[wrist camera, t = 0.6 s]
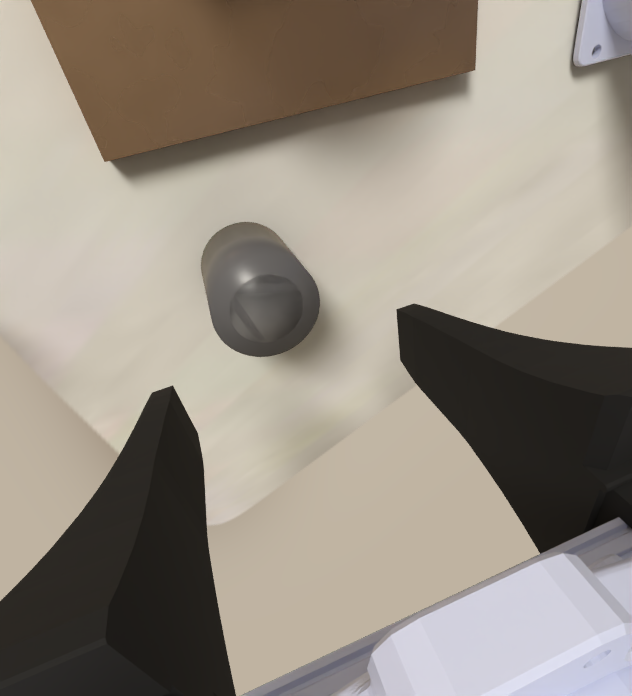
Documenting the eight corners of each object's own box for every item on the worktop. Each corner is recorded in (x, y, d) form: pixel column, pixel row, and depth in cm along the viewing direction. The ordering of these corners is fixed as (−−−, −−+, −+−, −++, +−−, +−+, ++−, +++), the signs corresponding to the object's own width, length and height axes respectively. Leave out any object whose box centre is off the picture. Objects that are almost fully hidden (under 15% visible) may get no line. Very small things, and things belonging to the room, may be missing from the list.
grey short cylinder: (277, 211, 19) (308, 242, 15) (297, 292, 22) (327, 337, 18) (187, 236, 18) (193, 276, 14) (218, 317, 21) (231, 370, 17)
